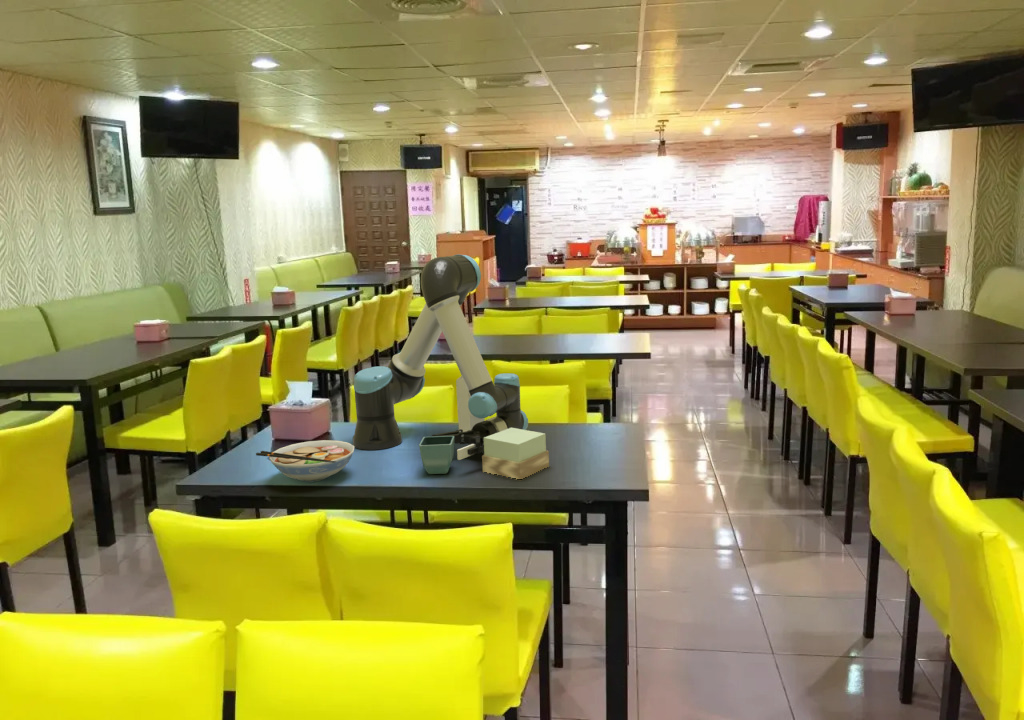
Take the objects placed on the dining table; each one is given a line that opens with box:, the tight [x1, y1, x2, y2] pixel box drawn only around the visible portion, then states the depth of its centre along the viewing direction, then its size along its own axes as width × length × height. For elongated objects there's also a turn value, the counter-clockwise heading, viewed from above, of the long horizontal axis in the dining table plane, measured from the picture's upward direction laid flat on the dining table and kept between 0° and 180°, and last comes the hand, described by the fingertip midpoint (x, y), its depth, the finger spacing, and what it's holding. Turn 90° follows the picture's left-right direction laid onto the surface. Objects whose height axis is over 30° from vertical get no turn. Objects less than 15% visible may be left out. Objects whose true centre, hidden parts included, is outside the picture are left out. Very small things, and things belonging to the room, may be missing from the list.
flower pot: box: [418, 436, 455, 475], centre depth 213 cm, size 9×9×9 cm
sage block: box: [483, 428, 547, 463], centre depth 212 cm, size 12×12×5 cm
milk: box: [455, 375, 486, 432], centre depth 244 cm, size 6×6×22 cm
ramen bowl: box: [255, 439, 355, 483], centre depth 213 cm, size 25×23×8 cm
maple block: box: [481, 449, 550, 480], centre depth 213 cm, size 13×13×5 cm
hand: (439, 451), depth 213 cm, fingers open, 13 cm apart
